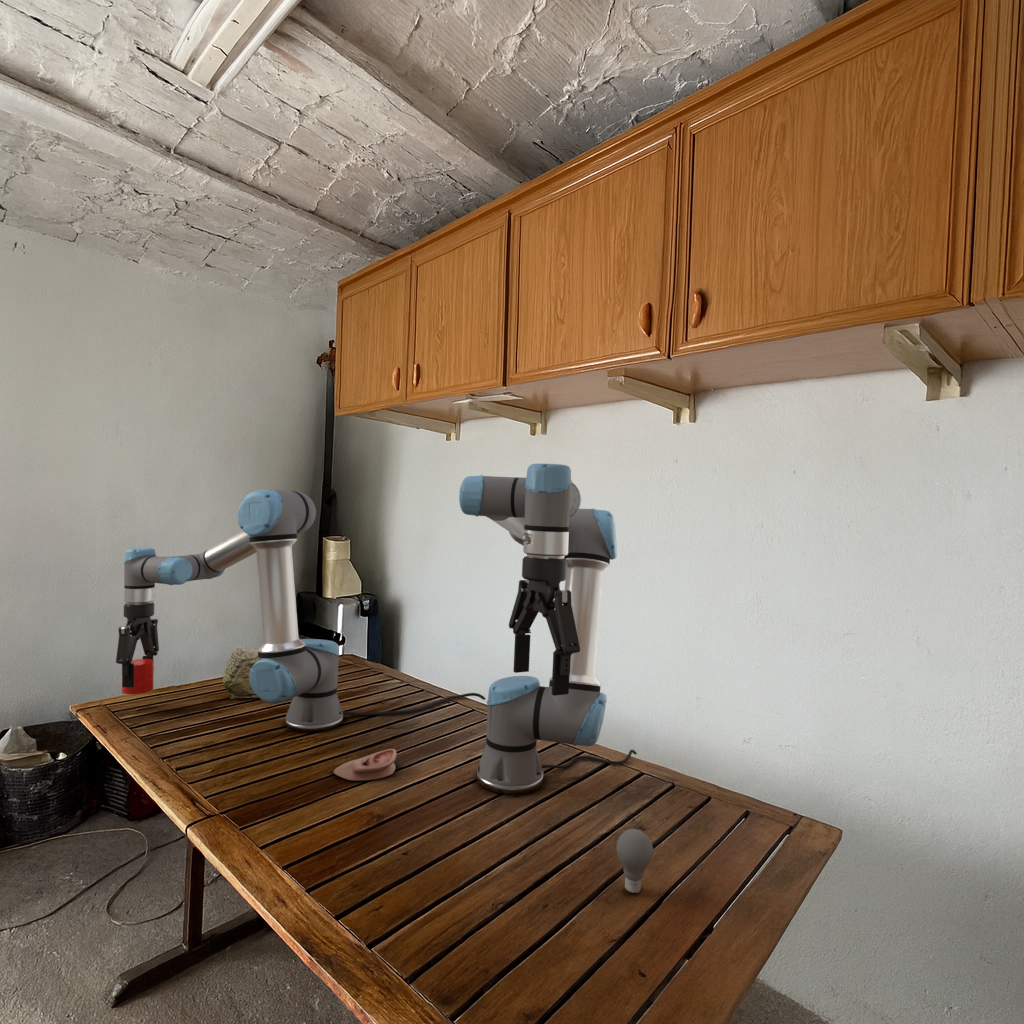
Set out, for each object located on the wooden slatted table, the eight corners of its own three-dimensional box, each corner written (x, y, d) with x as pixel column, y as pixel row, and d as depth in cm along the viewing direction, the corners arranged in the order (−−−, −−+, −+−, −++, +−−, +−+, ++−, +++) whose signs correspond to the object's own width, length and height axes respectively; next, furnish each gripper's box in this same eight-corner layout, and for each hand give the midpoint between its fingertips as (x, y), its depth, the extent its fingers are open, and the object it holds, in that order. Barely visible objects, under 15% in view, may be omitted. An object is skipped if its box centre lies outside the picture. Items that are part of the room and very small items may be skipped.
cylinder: (124, 687, 182) (124, 659, 182) (154, 685, 185) (155, 657, 185) (119, 695, 175) (120, 666, 175) (151, 692, 178) (151, 664, 178)
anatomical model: (327, 759, 142) (350, 741, 154) (326, 777, 143) (349, 757, 154) (382, 767, 140) (402, 748, 151) (382, 785, 140) (401, 764, 151)
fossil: (218, 695, 195) (220, 647, 195) (278, 685, 208) (279, 640, 207) (228, 703, 189) (230, 653, 188) (289, 692, 201) (290, 645, 201)
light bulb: (610, 879, 108) (613, 822, 108) (644, 879, 109) (647, 822, 109) (619, 902, 102) (622, 840, 102) (655, 901, 103) (658, 840, 103)
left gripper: (149, 596, 190) (148, 672, 190) (100, 607, 170) (99, 692, 170) (173, 597, 190) (172, 673, 190) (127, 608, 169) (125, 694, 169)
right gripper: (493, 549, 115) (488, 665, 116) (564, 564, 93) (557, 707, 93) (530, 549, 119) (525, 662, 119) (606, 564, 96) (600, 702, 97)
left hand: (137, 682), depth 180 cm, fingers closed on cylinder, 8 cm apart
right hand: (539, 682), depth 106 cm, fingers open, 13 cm apart
